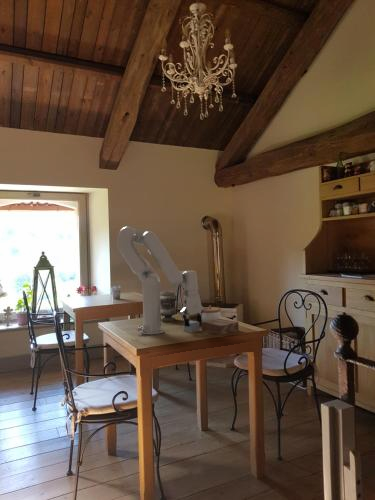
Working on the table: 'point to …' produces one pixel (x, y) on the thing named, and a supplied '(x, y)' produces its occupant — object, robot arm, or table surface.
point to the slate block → (192, 326)
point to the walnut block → (220, 326)
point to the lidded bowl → (210, 313)
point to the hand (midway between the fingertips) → (193, 324)
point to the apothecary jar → (168, 305)
